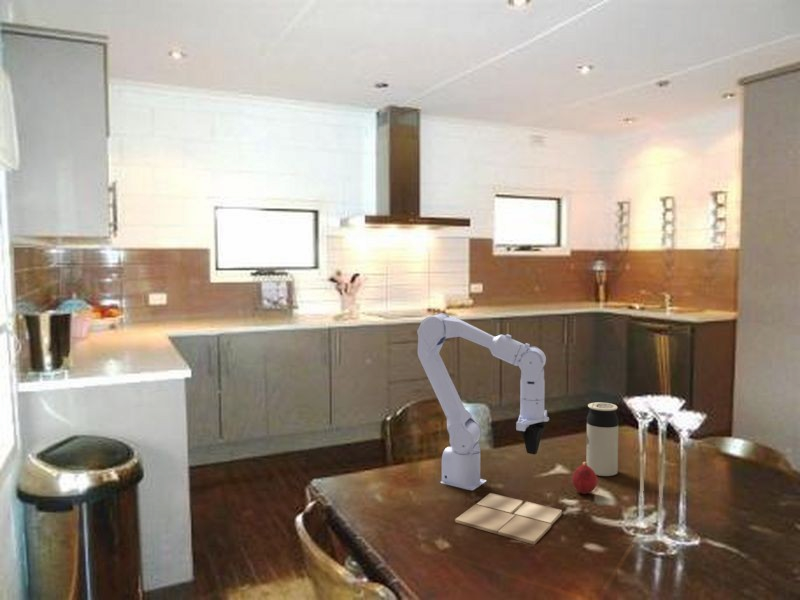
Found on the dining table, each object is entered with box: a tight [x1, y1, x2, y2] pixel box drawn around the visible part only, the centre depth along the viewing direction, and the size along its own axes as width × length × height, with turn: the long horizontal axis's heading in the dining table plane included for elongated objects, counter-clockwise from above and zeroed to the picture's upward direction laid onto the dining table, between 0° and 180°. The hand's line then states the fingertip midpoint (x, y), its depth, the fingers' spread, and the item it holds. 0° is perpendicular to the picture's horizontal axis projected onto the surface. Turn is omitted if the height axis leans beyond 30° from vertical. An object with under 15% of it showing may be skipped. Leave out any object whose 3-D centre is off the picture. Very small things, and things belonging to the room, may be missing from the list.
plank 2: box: [513, 500, 563, 526], centre depth 129 cm, size 8×7×1 cm
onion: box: [571, 461, 598, 495], centre depth 141 cm, size 6×6×8 cm
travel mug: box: [585, 401, 619, 477], centre depth 156 cm, size 8×8×18 cm
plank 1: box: [475, 492, 524, 515], centre depth 134 cm, size 8×7×1 cm
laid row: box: [454, 504, 552, 546], centre depth 125 cm, size 18×9×1 cm, turn 55°
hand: (532, 453), depth 142 cm, fingers closed
